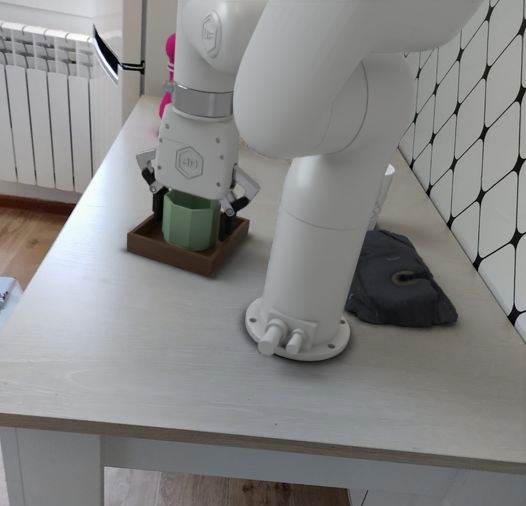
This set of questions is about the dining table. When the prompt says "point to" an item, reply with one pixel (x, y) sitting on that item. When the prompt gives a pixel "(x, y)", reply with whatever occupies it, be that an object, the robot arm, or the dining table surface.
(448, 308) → the dark slate chunk
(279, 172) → the dining table surface
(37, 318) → the dining table surface
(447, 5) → the robot arm
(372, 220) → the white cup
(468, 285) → the dining table surface
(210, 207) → the top tub
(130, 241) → the tray
